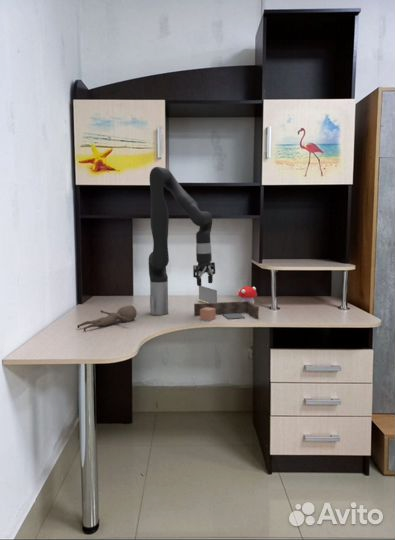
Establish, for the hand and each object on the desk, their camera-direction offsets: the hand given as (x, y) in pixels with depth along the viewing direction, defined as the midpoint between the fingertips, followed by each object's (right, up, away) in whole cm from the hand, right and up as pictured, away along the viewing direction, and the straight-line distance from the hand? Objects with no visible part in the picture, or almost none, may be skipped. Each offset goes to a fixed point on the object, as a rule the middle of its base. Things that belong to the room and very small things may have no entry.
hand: (204, 284), depth 210 cm
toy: (-46, -19, -9) cm, 51 cm away
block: (+1, -17, -1) cm, 18 cm away
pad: (+15, -17, +4) cm, 23 cm away
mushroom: (+24, -14, +26) cm, 38 cm away
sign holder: (+2, -13, +34) cm, 37 cm away
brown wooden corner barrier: (+11, -17, +4) cm, 20 cm away
